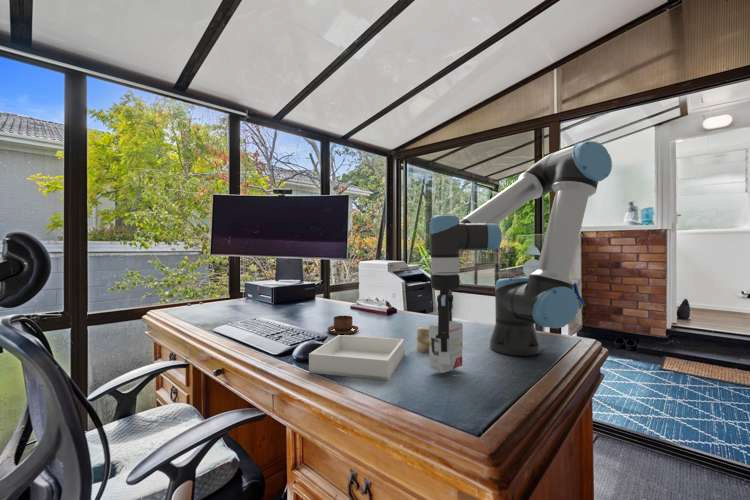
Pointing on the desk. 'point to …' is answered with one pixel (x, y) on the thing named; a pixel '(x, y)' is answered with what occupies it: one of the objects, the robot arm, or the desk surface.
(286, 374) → the desk surface
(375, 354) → the tray
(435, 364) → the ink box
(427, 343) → the birch cylinder
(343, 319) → the cup and saucer
